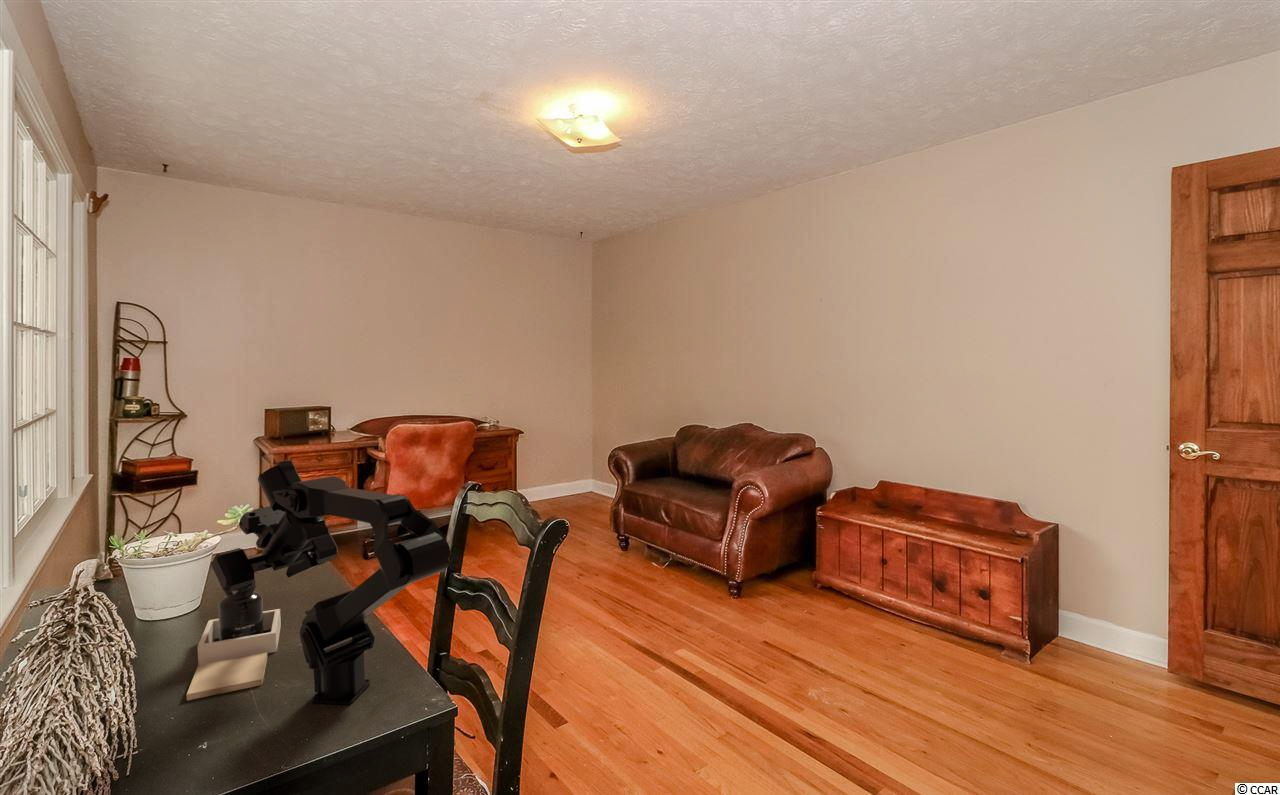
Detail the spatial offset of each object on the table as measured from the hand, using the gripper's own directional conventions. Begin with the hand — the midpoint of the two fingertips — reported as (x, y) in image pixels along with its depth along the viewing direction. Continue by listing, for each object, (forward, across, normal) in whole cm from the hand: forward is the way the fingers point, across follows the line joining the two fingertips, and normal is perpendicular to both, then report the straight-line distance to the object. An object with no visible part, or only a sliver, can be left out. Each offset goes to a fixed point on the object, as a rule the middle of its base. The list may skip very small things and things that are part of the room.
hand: (261, 583), depth 109 cm
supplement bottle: (+15, 0, +4) cm, 15 cm away
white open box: (+15, 0, +4) cm, 15 cm away
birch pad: (+7, +7, +11) cm, 15 cm away
